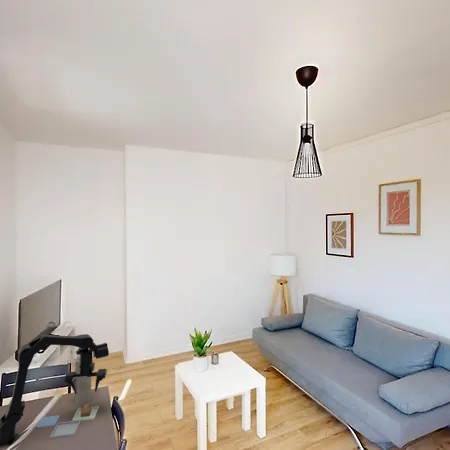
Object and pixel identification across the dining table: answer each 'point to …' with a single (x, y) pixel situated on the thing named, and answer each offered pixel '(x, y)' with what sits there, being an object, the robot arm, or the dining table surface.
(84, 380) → the thermos bottle
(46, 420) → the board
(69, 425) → the grey tray
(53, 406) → the dining table surface
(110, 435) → the dining table surface
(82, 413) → the letter cube
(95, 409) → the green tray
